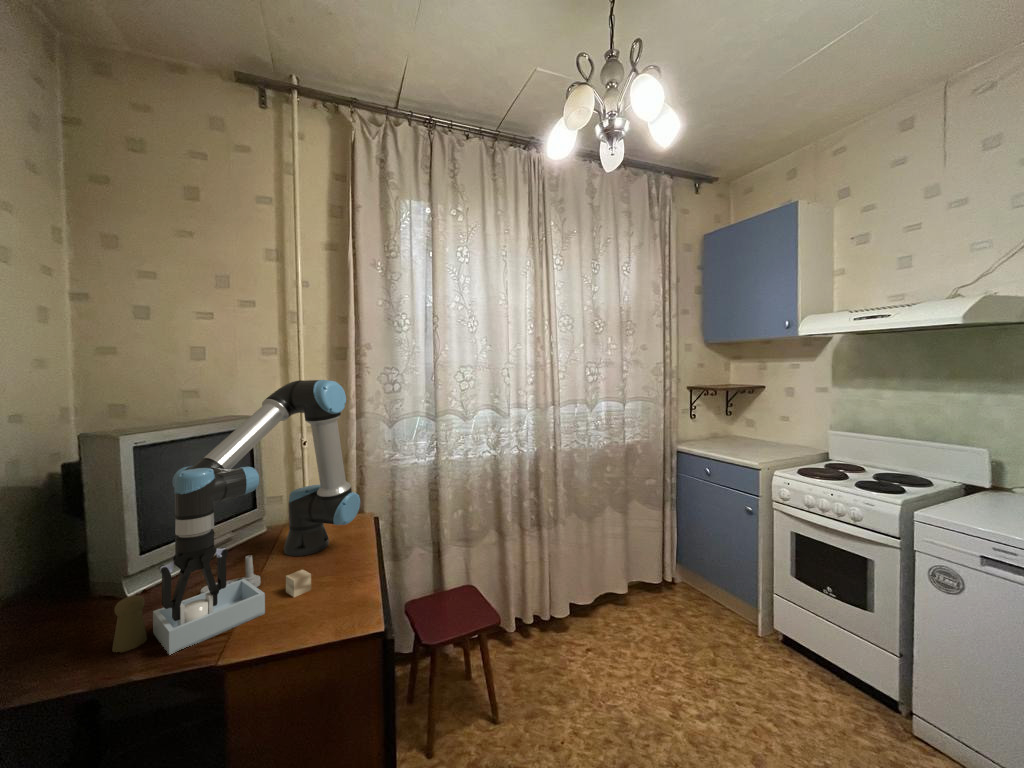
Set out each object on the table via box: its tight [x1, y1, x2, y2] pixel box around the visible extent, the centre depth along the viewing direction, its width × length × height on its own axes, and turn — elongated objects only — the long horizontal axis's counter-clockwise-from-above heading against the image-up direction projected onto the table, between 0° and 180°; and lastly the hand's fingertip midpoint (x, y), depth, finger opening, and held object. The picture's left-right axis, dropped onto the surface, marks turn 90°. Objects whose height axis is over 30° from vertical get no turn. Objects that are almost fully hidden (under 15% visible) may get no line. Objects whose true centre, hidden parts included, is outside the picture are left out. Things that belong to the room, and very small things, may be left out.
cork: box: [111, 595, 148, 654], centre depth 94 cm, size 6×6×11 cm
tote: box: [152, 579, 266, 656], centre depth 101 cm, size 20×14×6 cm
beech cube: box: [285, 569, 312, 598], centre depth 117 cm, size 5×5×5 cm
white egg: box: [185, 599, 208, 623], centre depth 96 cm, size 5×5×7 cm
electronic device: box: [200, 554, 262, 594], centre depth 118 cm, size 5×10×15 cm
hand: (195, 625), depth 96 cm, fingers closed on white egg, 5 cm apart
